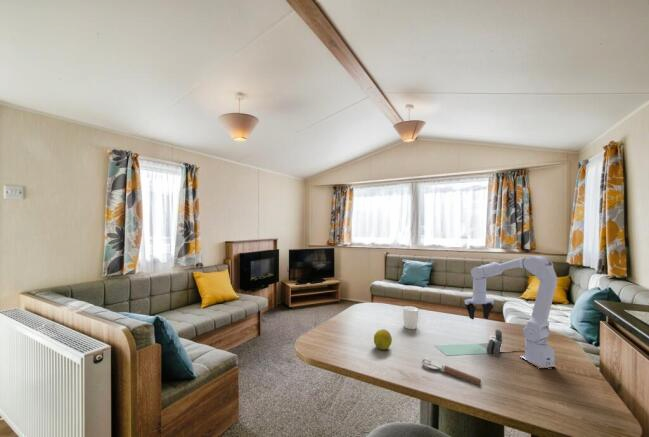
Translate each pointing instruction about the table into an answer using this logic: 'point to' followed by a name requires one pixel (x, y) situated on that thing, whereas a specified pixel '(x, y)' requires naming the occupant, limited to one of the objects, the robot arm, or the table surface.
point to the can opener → (497, 341)
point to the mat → (464, 349)
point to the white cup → (410, 317)
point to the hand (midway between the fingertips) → (478, 318)
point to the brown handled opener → (451, 371)
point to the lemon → (382, 339)
